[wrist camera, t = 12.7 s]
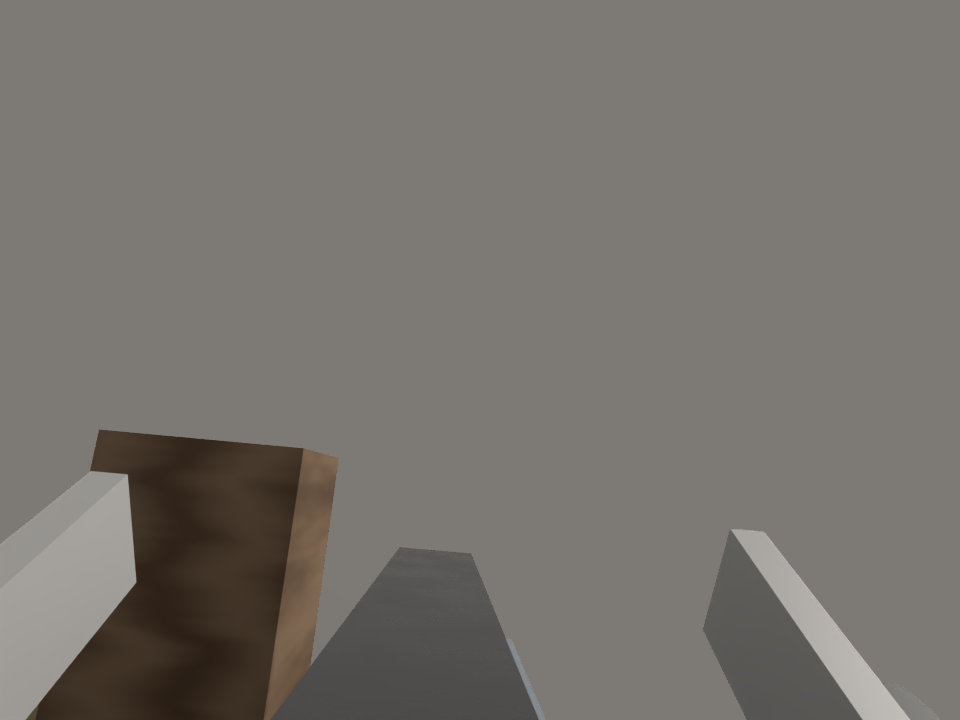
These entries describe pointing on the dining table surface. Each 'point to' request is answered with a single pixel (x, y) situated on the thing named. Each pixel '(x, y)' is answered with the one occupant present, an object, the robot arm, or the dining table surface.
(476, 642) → the steel bar
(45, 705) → the walnut stand
